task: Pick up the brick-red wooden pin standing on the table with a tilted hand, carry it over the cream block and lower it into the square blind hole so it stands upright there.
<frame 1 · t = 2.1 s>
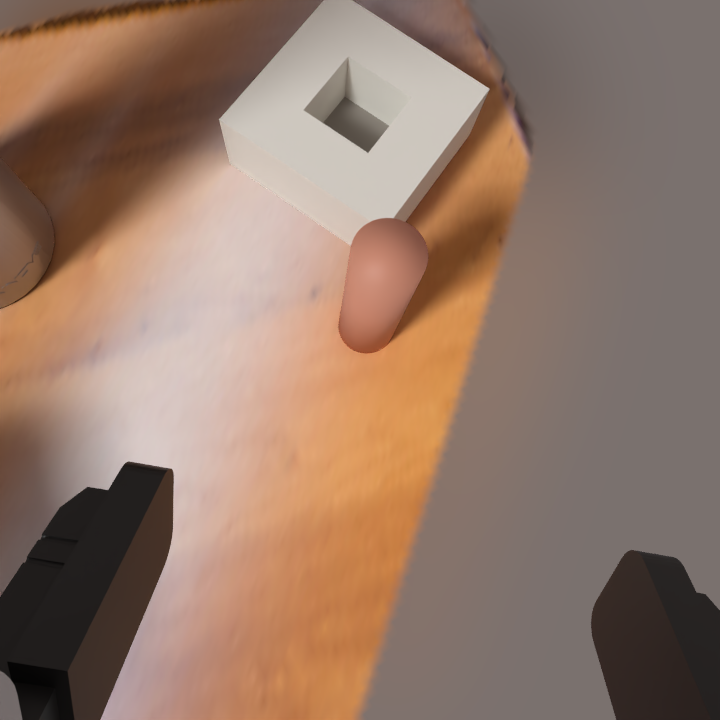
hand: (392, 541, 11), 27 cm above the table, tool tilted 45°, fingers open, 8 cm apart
block: (352, 149, 42), on the table
pin: (366, 326, 39), on the table
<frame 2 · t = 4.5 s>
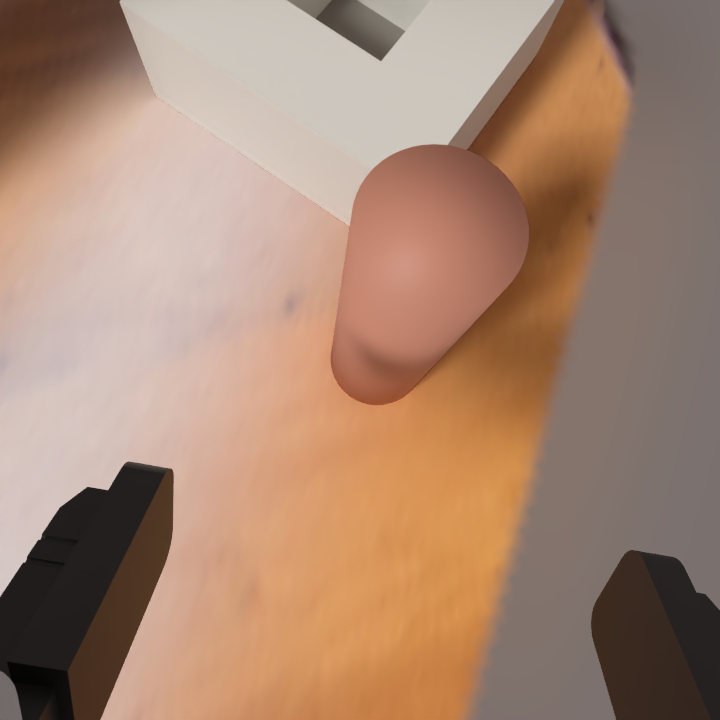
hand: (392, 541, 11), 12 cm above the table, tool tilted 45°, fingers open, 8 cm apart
block: (353, 74, 26), on the table
pin: (376, 359, 24), on the table
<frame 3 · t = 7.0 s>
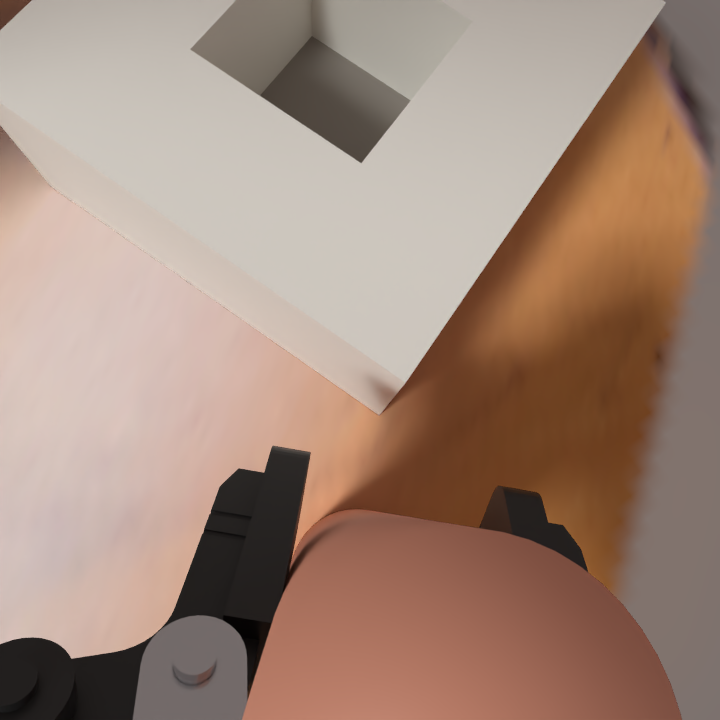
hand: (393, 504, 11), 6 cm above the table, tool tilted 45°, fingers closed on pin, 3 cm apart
block: (329, 152, 19), on the table
pin: (356, 577, 16), on the table, touching gripper
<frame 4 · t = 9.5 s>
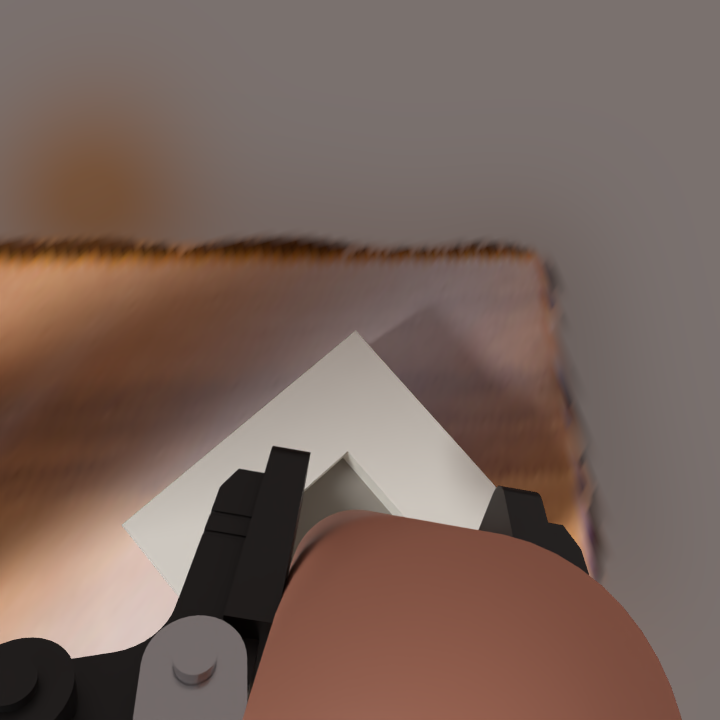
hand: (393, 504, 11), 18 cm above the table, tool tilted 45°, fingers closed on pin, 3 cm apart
block: (336, 531, 29), on the table
pin: (356, 578, 16), point 12 cm above the table, touching gripper
when the fingers open (8 cm above the table, at t = 12.3 s): pin drops 1 cm, resting on block.
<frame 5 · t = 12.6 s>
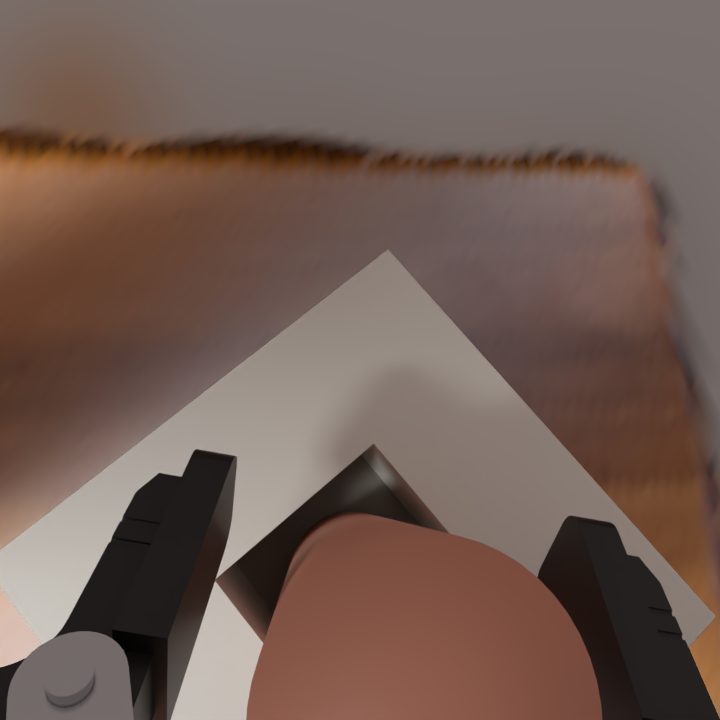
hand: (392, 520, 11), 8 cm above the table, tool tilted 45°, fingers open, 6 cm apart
block: (349, 567, 19), on the table
pin: (351, 574, 18), point 1 cm above the table, touching block
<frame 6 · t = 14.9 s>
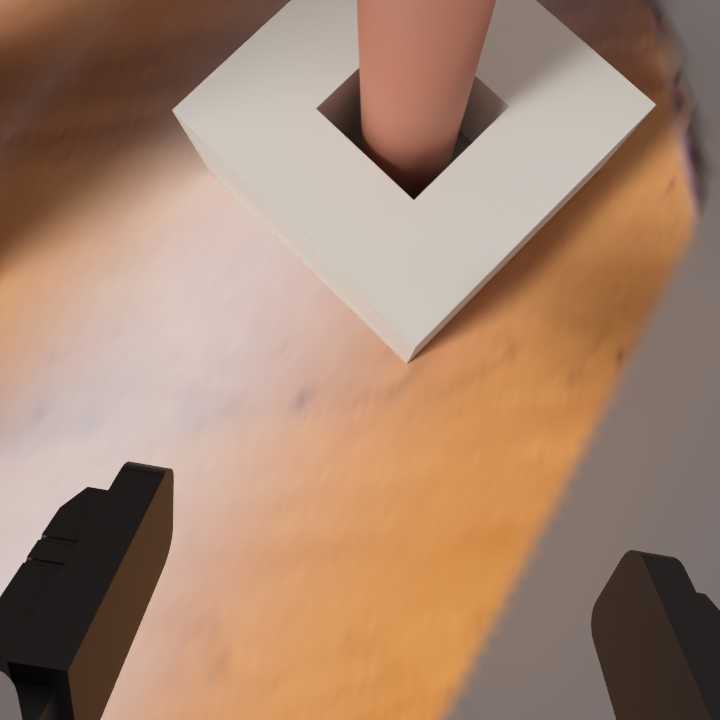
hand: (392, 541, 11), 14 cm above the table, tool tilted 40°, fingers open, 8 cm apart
block: (404, 169, 26), on the table
pin: (406, 159, 25), point 1 cm above the table, touching block
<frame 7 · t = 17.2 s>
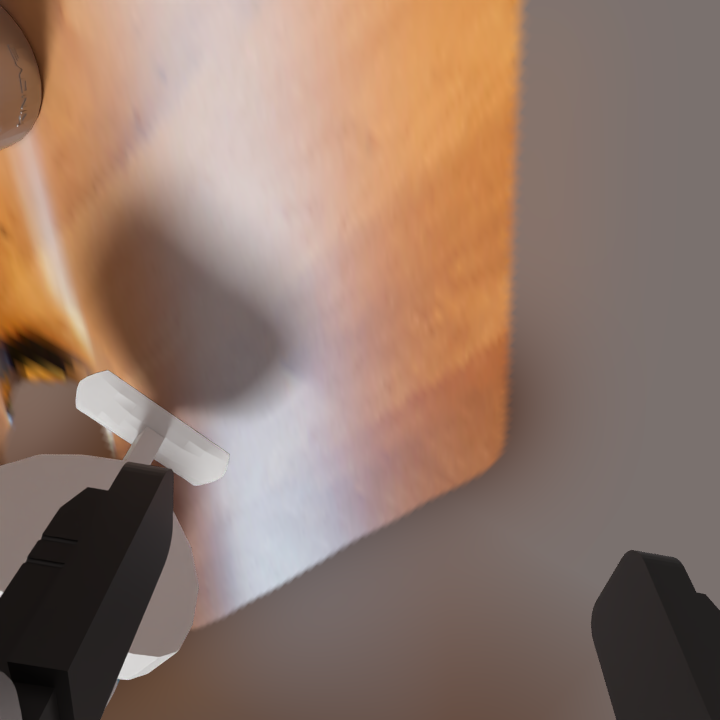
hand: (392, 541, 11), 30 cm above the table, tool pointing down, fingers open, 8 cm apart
heart sculpture: (154, 430, 49), on the table
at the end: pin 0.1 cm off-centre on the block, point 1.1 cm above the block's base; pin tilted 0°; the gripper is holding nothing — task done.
